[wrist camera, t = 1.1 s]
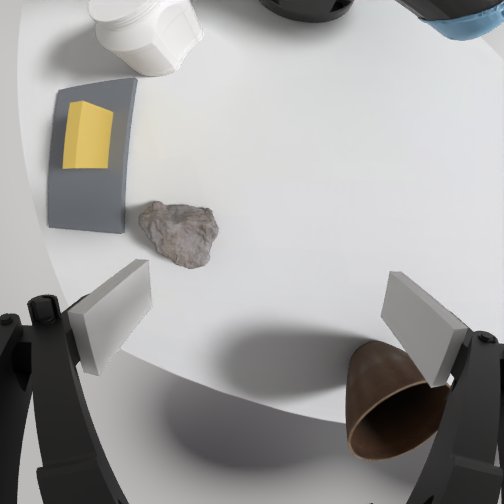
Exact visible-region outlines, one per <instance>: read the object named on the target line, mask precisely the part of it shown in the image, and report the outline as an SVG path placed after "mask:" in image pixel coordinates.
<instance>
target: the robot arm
mask: <svg viewBox="0 0 504 504" xmlns="http://www.w3.org/2000/svg"><path fill="white" fill-rule="evenodd" d="M259 1H260V2H261V3H262V4H263V5H264V6H265V7H266V8H268V9H269V10H271V11H272V12H274V13H276V14H278V15H280V16H283V17H286V18H289V19H292V20H296V21H302V22H326V21H331V20H334V19H337V18H339V17H341V16H342V15H344V14H345V13H346V12H347V11H348V10H349V9H350V7H351V5H352V4H353V2H354V0H259ZM395 1H397V2H398V3H400V4H401V5H402V6H404V7H405V8H407V9H408V10H409V11H411V12H412V13H414V14H415V15H416V16H417V17H418V19H420V20H421V21H423V22H425V23H428V24H429V25H430V26H432V27H433V28H434V29H436V30H437V31H438V32H439V33H441V34H442V35H443V36H445V37H447V38H449V39H452V40H459V41H465V40H471V39H474V38H477V37H480V36H482V35H484V34H486V33H488V32H490V31H492V30H493V29H495V28H496V27H497V26H499V25H500V24H501V23H502V22H503V21H504V0H395ZM27 305H28V310H29V313H30V317H31V321H32V326H28V325H22V324H21V321H20V318H19V316H18V315H17V314H8V313H6V314H3V315H1V316H0V504H17V491H18V490H17V489H18V475H19V465H20V456H21V448H22V441H23V435H24V429H25V424H26V418H27V413H28V409H29V404H30V400H31V395H32V391H33V401H34V412H35V420H36V428H37V434H38V441H39V447H40V453H41V457H42V462H43V467H40V468H37V471H36V473H37V480H38V484H39V489H40V493H41V496H42V500H43V503H44V504H129V503H128V501H127V499H126V497H125V495H124V494H123V492H122V490H121V488H120V486H119V484H118V482H117V480H116V477H115V476H114V473H113V471H112V469H111V467H110V465H109V462H108V460H107V458H106V456H105V453H104V451H103V448H102V446H101V444H100V441H99V438H98V436H97V433H96V430H95V427H94V425H93V422H92V419H91V416H90V413H89V410H88V407H87V404H86V401H85V398H84V394H83V391H82V387H81V384H80V380H79V376H78V373H77V369H76V365H77V363H78V362H79V361H80V362H81V365H82V368H83V371H84V372H85V373H89V374H93V375H96V376H100V374H101V373H102V372H103V370H104V369H105V368H106V366H107V365H108V364H109V362H110V361H111V360H112V358H113V357H114V355H115V354H116V353H117V352H118V350H119V349H120V348H121V346H122V345H123V344H124V342H125V341H126V340H127V338H128V337H129V336H130V334H131V333H132V332H133V331H134V329H135V328H136V327H137V325H138V324H139V323H140V321H141V320H142V319H143V318H144V316H145V315H146V314H147V313H148V311H149V310H150V309H151V307H152V297H151V286H150V273H149V260H140V259H136V260H134V261H133V262H132V263H130V264H129V265H127V266H126V267H125V268H123V269H122V270H121V271H119V272H118V273H117V274H115V275H114V276H113V277H111V278H110V279H109V280H107V281H106V282H105V283H103V284H102V285H101V286H99V287H98V288H97V289H95V290H94V291H93V292H91V293H90V294H88V295H85V296H83V297H81V298H80V299H79V300H78V301H76V302H75V303H74V304H72V306H70V307H69V308H67V309H66V310H65V311H63V312H62V313H61V312H60V308H59V303H58V299H57V297H56V296H54V295H41V296H37V297H34V298H32V299H31V300H30V301H28V303H27ZM381 318H382V319H383V320H384V322H385V323H386V324H387V326H388V327H389V328H390V330H391V331H392V332H393V334H394V335H395V337H396V338H397V339H398V341H399V342H400V344H401V345H402V346H403V348H404V349H405V351H406V352H407V353H408V355H409V356H410V358H411V359H412V360H413V362H414V363H415V365H416V366H417V368H418V369H419V371H420V372H421V374H422V375H423V376H424V378H425V379H426V381H427V382H428V384H429V385H430V387H431V388H433V387H438V386H443V385H445V384H446V382H447V379H448V377H449V375H450V373H451V374H452V376H453V377H454V381H453V383H452V385H451V387H450V389H449V391H448V393H447V395H446V397H445V399H444V400H447V403H446V406H445V410H444V413H443V416H442V419H441V422H440V425H439V428H438V431H437V434H436V437H435V440H434V443H433V445H432V448H431V451H430V453H429V456H428V458H427V461H426V463H425V465H424V468H423V470H422V472H421V474H420V477H419V479H418V481H417V483H416V485H415V487H414V489H413V491H412V493H411V495H410V497H409V499H408V501H407V503H406V504H497V503H498V499H499V494H500V489H501V494H502V495H501V497H502V504H504V344H499V343H498V340H497V338H496V337H495V336H494V335H492V334H490V333H488V332H485V331H475V332H473V331H472V330H471V329H470V328H469V327H468V326H467V325H465V324H464V323H463V322H461V320H460V319H459V318H457V317H456V316H455V315H454V314H453V313H452V312H450V311H448V310H447V309H446V308H445V307H444V306H443V305H441V304H440V303H439V302H438V301H437V300H436V299H434V298H433V297H432V296H431V295H430V294H428V293H427V292H426V291H425V290H423V289H422V288H421V287H420V286H419V285H417V284H416V283H415V282H414V281H412V280H411V279H410V278H409V277H407V276H406V275H405V274H404V273H402V272H392V271H390V273H389V278H388V284H387V289H386V294H385V299H384V303H383V308H382V312H381ZM497 444H498V451H499V461H500V467H495V466H494V461H495V454H496V446H497ZM371 504H373V503H371Z"/></svg>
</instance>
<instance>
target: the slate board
mask: <svg viewBox="0 0 504 504" xmlns="http://www.w3.org/2000/svg"><path fill="white" fill-rule="evenodd" d="M137 81H138V80H137V79H136V78H127V79H118V80H111V81H104V82H98V83H92V84H86V85H81V86H76V87H71V88H66V89H62V90H59V93H58V98H57V104H56V110H55V116H54V123H53V131H52V140H51V150H50V163H49V183H48V222H49V228H60V229H71V230H83V231H94V232H105V233H116V234H122V233H124V228H125V190H126V173H127V159H128V148H129V138H130V129H131V121H132V113H133V106H134V100H135V93H136V87H137ZM78 101H85V102H88V103H91V104H93V105H96V106H99V107H101V108H104V109H107V110H109V111H112V112H113V119H112V127H111V136H110V146H109V157H108V168H97V169H90V168H85V169H63V155H64V144H65V135H66V126H67V119H68V112H69V106H70V103H72V102H78Z"/></svg>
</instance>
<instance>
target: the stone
mask: <svg viewBox="0 0 504 504" xmlns="http://www.w3.org/2000/svg"><path fill="white" fill-rule="evenodd" d="M139 226H140V227H141V228H142V229H143V230H144V232H145V233H146V235H147V237H148V238H149V239H150V240H151V241H152V242H153V243H154V244H155V247H156V250H157V252H159V253H160V254H162V255H163V256H165V257H168V258H170V259H171V260H172V261H173V262H174V263H175V264H176V265H179V266H183V267H185V268H188V269H194V268H198V267H201V266H204V265H205V264H207V263H208V261H209V260H210V254H209V253H210V249H211V246H212V242H213V241H214V240H215V238H216V237H217V235H218V229H219V228H218V226H217V224H216V221H215V220H214V217H213V214H212V210H210V209H209V208H206V209H200V208H195V207H193V206H188V205H181V206H180V205H172V206H167V205H164V204H163V203H162V202H160V201H157V202H154V203H153V206H152V207H149V208H148V209H147V210H145V211H144V212H143V213H142V214H140V215H139Z"/></svg>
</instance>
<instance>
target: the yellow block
mask: <svg viewBox="0 0 504 504" xmlns="http://www.w3.org/2000/svg"><path fill="white" fill-rule="evenodd" d="M112 119H113V112H112V111H109V110H107V109H104V108H101V107H99V106H96V105H93V104H91V103H88V102H85V101H78V102H72V103H70V106H69V112H68V119H67V126H66V135H65V144H64V155H63V169H85V168H90V169H97V168H108V157H109V146H110V136H111V127H112Z"/></svg>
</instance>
